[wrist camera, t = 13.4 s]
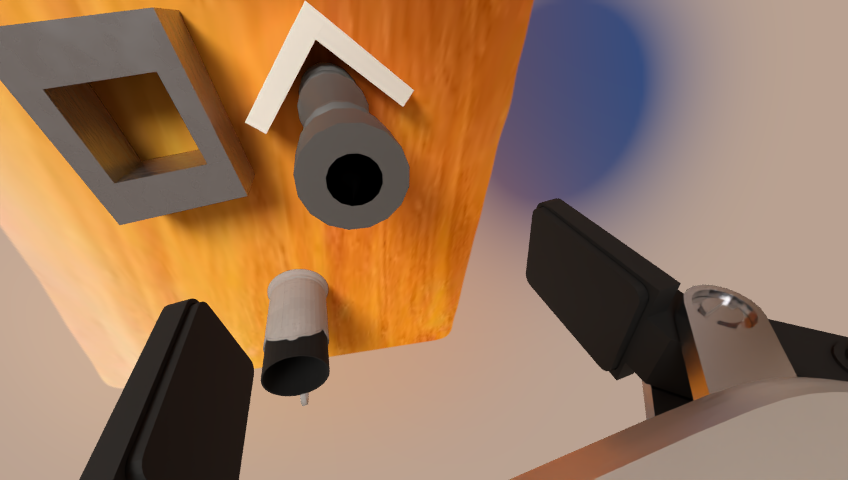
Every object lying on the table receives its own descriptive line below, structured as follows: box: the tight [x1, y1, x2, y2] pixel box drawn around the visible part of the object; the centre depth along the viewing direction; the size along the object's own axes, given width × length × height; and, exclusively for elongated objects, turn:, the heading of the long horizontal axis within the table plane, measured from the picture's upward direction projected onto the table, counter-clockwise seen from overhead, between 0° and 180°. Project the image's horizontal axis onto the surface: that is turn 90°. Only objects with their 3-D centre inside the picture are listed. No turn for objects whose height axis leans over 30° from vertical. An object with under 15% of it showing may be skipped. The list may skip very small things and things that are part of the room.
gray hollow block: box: [0, 8, 255, 225], centre depth 30 cm, size 16×12×6 cm
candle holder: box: [294, 62, 409, 230], centre depth 26 cm, size 6×6×25 cm
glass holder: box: [261, 269, 329, 406], centre depth 45 cm, size 9×14×15 cm, turn 175°
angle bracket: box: [245, 1, 414, 134], centre depth 32 cm, size 10×17×5 cm, turn 97°
